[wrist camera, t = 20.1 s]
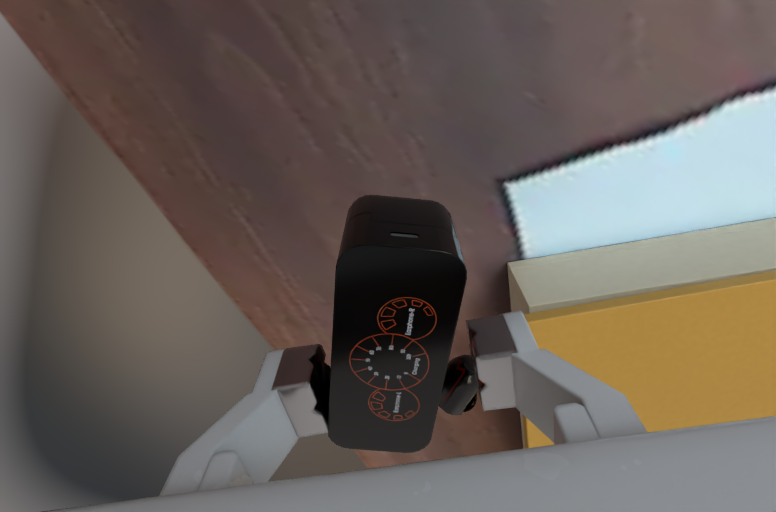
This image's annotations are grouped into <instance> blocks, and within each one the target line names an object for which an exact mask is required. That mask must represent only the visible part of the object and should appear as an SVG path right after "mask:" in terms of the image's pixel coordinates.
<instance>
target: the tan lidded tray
mask: <svg viewBox="0 0 776 512" xmlns="http://www.w3.org/2000/svg"><path fill="white" fill-rule="evenodd" d="M507 267H508V278H509V290H510V302H511V312H514V311H522V312H523V314H528V313H533V312H539V311H545V310H551V309H556V308H562V307H568V306H574V305H579V304H585V303H591V302H597V301H602V300H608V299H614V298H620V297H625V296H631V295H637V294H643V293H648V292H654V291H660V290H665V289H671V288H677V287H683V286H688V285H694V284H700V283H706V282H711V281H717V280H723V279H729V278H734V277H740V276H746V275H752V274H757V273H763V272H769V271H775V270H776V217H775V218H769V219H763V220H758V221H752V222H746V223H740V224H734V225H728V226H722V227H716V228H710V229H704V230H698V231H692V232H686V233H680V234H674V235H668V236H663V237H657V238H651V239H645V240H639V241H633V242H627V243H621V244H615V245H609V246H603V247H597V248H591V249H585V250H579V251H574V252H568V253H562V254H556V255H550V256H544V257H538V258H532V259H526V260H520V261H514V262H508V263H507ZM520 418H521V430H522V441H523V449H525V437H524V425H523V414H522V413H521V412H520Z"/></svg>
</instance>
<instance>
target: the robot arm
mask: <svg viewBox="0 0 776 512" xmlns="http://www.w3.org/2000/svg"><path fill="white" fill-rule="evenodd" d="M466 327H467V334H468V338H469V342H470V344H469V347H470V353H471V359H472V365H473V369H474V374H475V378H476V379H477V384H478V391H479V395H480V399H481V403H482V407H483V411H486V410H495V409H504V408H513V407H516V409H517V410H518V411H520V412H521V413H522V414H523V415H524V416H525V417H526V418H527V419H528V420H529V421H531V422H532V423H533V424H534V425H535V426H536V427H537V428H538V429H539V430H540V431H541V432H543V433H544V434H545V435H546V436H547V437H548V438H549V439H550V440H551V441H552V442H554V445H548V446H541V447H533V448H526V449H518V450H510V451H502V452H495V453H487V454H479V455H471V456H463V457H456V458H448V459H440V460H432V461H425V462H417V463H409V464H402V465H394V466H387V467H379V468H371V469H364V470H356V471H349V472H341V473H334V474H326V475H318V476H311V477H304V478H296V479H288V480H280V481H272V482H268V481H269V479H270V478H271V477H272V475H273V474H274V472H275V471H276V470H277V468H278V467H279V466H280V464H281V463H282V461H283V460H284V459H285V457H286V456H287V455H288V453H289V452H290V450H291V449H292V448H293V446H294V445H295V444H296V442H297V441H298V438H299V437H305V436H311V435H317V434H323V433H328V432H329V424H328V413H329V393H330V374H331V368H330V366H328V365H327V364H326V363H324V361H325V355H326V354H325V352H324V349H323V347H322V345H320V344H315V345H307V346H300V347H293V348H286V349H280V350H273V351H269V352H268V353H267V354H266V356H265V358H264V361H263V364H262V367H261V369H260V372H259V375H258V378H257V380H256V383H255V386H254V389H253V391H252V393H251V394H246V395H245V396H244V397H243V398H242V399H241V400H240V401H239V402H238V403H237V404H235V406H233V407H232V408H231V409H230V410H229V411H228V412H227V413H225V414H224V415H223V416H222V417H221V418H220V419H219V420H218V421H217V422H216V423H214V424H213V425H212V426H211V427H210V428H209V429H208V430H207V431H206V432H204V433H203V434H202V435H201V436H200V437H199V438H198V439H197V440H196V441H195V442H194V443H192V444H191V445H190V446H189V447H188V448H187V449H186V450H185V451H184V452H183V453H181V454H180V455H179V456H178V458H177V460H176V462H175V464H174V466H173V468H172V470H171V472H170V474H169V476H168V478H167V481H166V483H165V485H164V487H163V489H162V491H161V493H160V495H159V496H158V497H150V498H143V499H135V500H127V501H119V502H112V503H105V504H96V505H89V506H81V507H73V508H66V509H58V510H50V511H43V512H776V416H769V417H761V418H754V419H746V420H738V421H731V422H723V423H715V424H708V425H700V426H692V427H685V428H677V429H670V430H662V431H654V432H647V430H646V429H645V427H644V425H643V424H642V422H641V420H640V419H639V417H638V416H637V414H636V412H635V411H634V409H633V408H632V406H631V404H630V403H629V401H628V399H627V398H626V396H625V395H624V394H623V393H621V392H619V391H617V390H616V389H614V388H612V387H610V386H609V385H607V384H605V383H603V382H602V381H600V380H598V379H597V378H595V377H593V376H591V375H590V374H588V373H586V372H584V371H583V370H581V369H579V368H577V367H576V366H574V365H572V364H571V363H569V362H567V361H565V360H564V359H562V358H560V357H558V356H557V355H555V354H553V353H551V352H550V351H548V350H546V349H540V350H539V347H538V345H537V343H536V341H535V339H534V336H533V334H532V332H531V330H530V328H529V325H528V323H527V321H526V319H525V317H524V314H523V312H522V311H514V312H509V313H504V314H502V315H495V316H489V317H483V318H477V319H471V320H466Z"/></svg>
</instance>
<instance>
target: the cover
mask: <svg viewBox="0 0 776 512" xmlns="http://www.w3.org/2000/svg"><path fill="white" fill-rule="evenodd" d="M524 317H525V319H526V321H527V323H528V325H529V328H530V330H531V332H532V334H533V336H534V339H535V341H536V343H537V345H538V347H539V350H540V349H546V350H548V351H550V352H551V353H553V354H555V355H557V356H558V357H560V358H562V359H564V360H565V361H567V362H569V363H571V364H572V365H574V366H576V367H577V368H579V369H581V370H583V371H584V372H586V373H588V374H590V375H591V376H593V377H595V378H597V379H598V380H600V381H602V382H603V383H605V384H607V385H609V386H610V387H612V388H614V389H616V390H617V391H619V392H621V393H623V394H624V395H625V396H626V398H627V399H628V401H629V403H630V404H631V406H632V408H633V409H634V411H635V412H636V414H637V416H638V417H639V419H640V420H641V422H642V424H643V425H644V427H645V429H646V430H647V432H654V431H662V430H670V429H677V428H685V427H692V426H700V425H708V424H715V423H723V422H731V421H738V420H746V419H754V418H761V417H769V416H776V270H775V271H769V272H763V273H757V274H752V275H746V276H740V277H734V278H729V279H723V280H717V281H711V282H706V283H700V284H694V285H688V286H683V287H677V288H671V289H665V290H660V291H654V292H648V293H643V294H637V295H631V296H625V297H620V298H614V299H608V300H602V301H597V302H591V303H585V304H579V305H574V306H568V307H562V308H556V309H551V310H545V311H539V312H533V313H528V314H524ZM523 425H524V437H525V449H526V448H533V447H541V446H548V445H554V442H552V441H551V440H550V439H549V438H548V437H547V436H546V435H545V434H544V433H543V432H541V431H540V430H539V429H538V428H537V427H536V426H535V425H534V424H533V423H532V422H531V421H529V420H528V419H527V418H526V417H525V416H524V415H523Z"/></svg>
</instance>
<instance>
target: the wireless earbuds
mask: <svg viewBox="0 0 776 512" xmlns="http://www.w3.org/2000/svg"><path fill="white" fill-rule="evenodd" d="M466 280H467V270H466V266H465V263H464V259H463V256H462V252H461V249H460V246H459V242H458V239H457V235H456V232H455V229H454V225H453V222H452V219H451V216H450V213H449V212H448V210H447V209H446V208H445V207H444V206H443V205H442V204H440V203H438V202H435V201H431V200H422V199H411V198H401V197H391V196H381V195H365V196H362V197H360V198H358V199H357V200H355V201H354V202H353V204H352V205H351V207H350V208H349V210H348V214H347V218H346V223H345V228H344V232H343V237H342V241H341V246H340V251H339V255H338V260H337V264H336V274H335V294H334V314H333V334H332V354H331V374H330V393H329V413H328V424H329V432H328V436H329V438H330V439H331V441H333V442H334V443H335V444H336V445H338V446H341V447H343V448H349V449H361V450H375V451H388V452H402V453H411V452H416V451H419V450H421V449H423V448H425V447H426V446H427V445H428V444H429V442H430V440H431V437H432V433H433V428H434V424H435V419H436V415H437V410H438V406H440V407H441V408H442V409H443V410H444V411H445V412H446V413H448V414H451V415H461V413H462V412H466V411H469V410H471V409H472V408H473V407H474V406H475V404H476V401H477V394H476V393H477V392H478V384H477V379H476V378H475V374H474V369H473V365H472V359H471V355H461V356H458V357H455V358H453V359H452V360H451V361H449V356H450V352H451V347H452V343H453V338H454V334H455V329H456V325H457V320H458V316H459V311H460V307H461V302H462V298H463V293H464V289H465V285H466ZM448 361H449V363H448Z"/></svg>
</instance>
